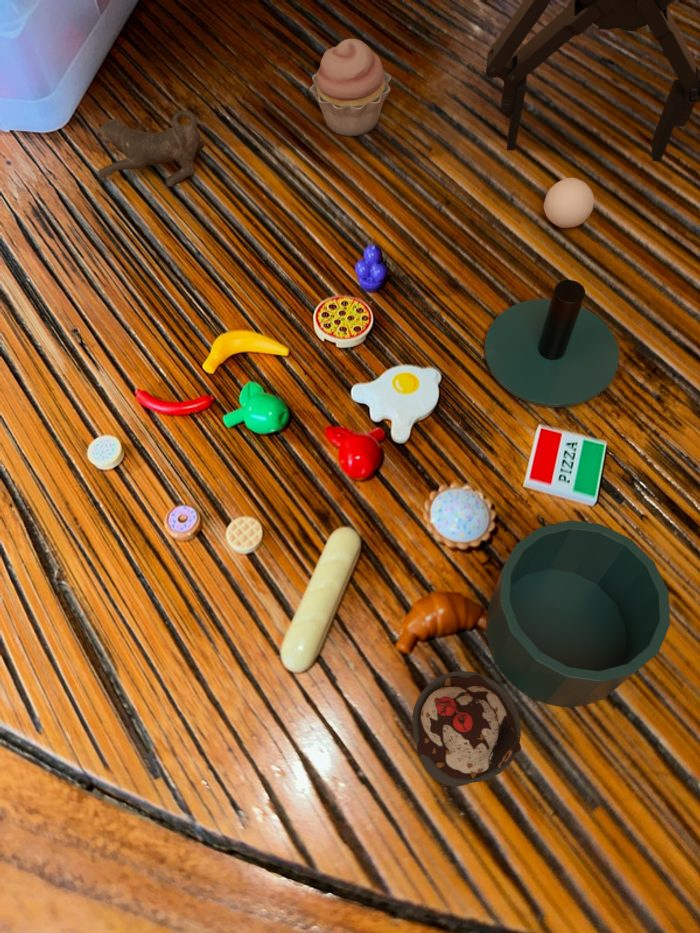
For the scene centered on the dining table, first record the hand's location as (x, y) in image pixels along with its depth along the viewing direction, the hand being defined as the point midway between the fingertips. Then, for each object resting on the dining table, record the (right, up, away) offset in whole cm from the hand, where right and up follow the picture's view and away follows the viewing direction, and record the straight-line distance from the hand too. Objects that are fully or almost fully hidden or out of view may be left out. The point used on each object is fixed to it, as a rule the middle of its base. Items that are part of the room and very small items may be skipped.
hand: (582, 146), depth 73 cm
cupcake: (-22, +10, +18) cm, 30 cm away
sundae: (-15, -52, -17) cm, 56 cm away
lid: (-3, -20, -1) cm, 20 cm away
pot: (-6, -44, -13) cm, 46 cm away
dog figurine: (-45, +3, +15) cm, 47 cm away
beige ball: (0, -5, +8) cm, 10 cm away
